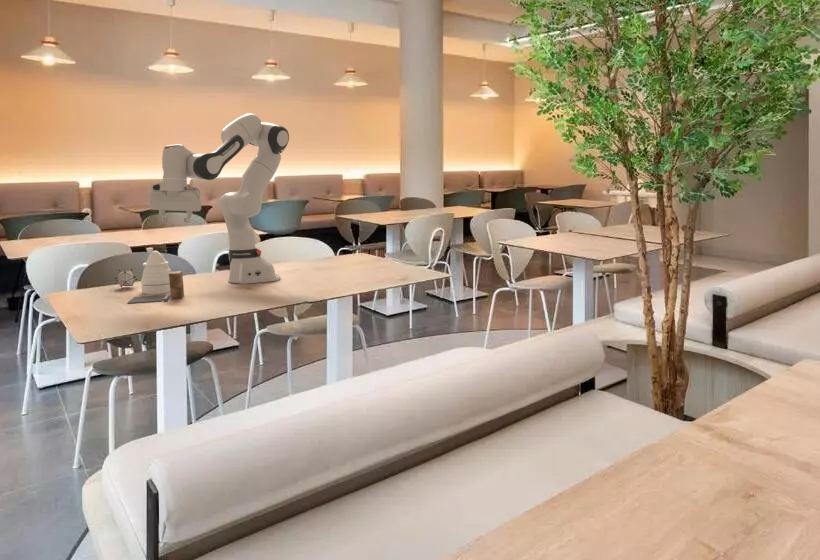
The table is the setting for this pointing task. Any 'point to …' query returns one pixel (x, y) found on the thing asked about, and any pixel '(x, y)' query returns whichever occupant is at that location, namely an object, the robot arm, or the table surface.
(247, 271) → the robot arm
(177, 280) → the walnut block
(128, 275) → the twenty-sided die
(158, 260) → the honey pot
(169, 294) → the rail
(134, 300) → the mat
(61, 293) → the table surface
